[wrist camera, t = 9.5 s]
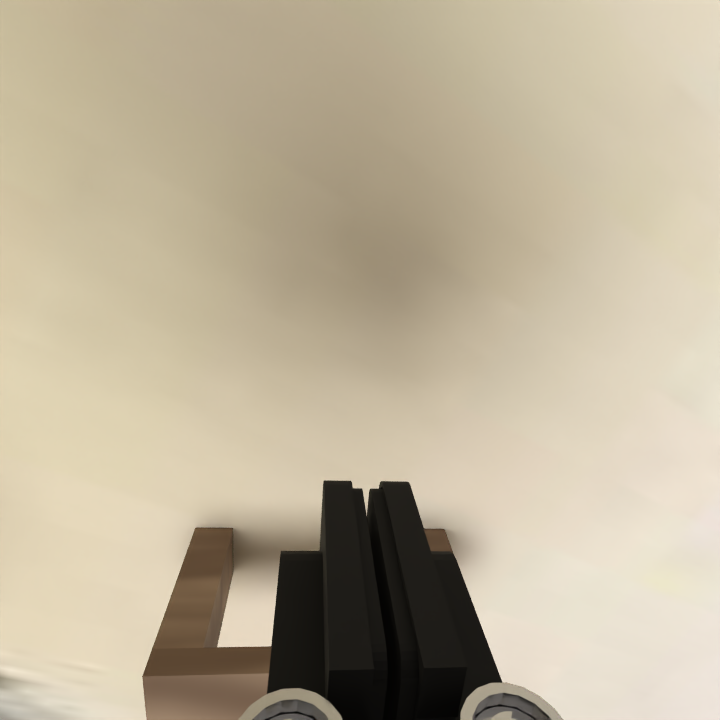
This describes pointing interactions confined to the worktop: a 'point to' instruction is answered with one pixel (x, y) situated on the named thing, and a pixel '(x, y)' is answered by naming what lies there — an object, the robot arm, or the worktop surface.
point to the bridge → (209, 640)
